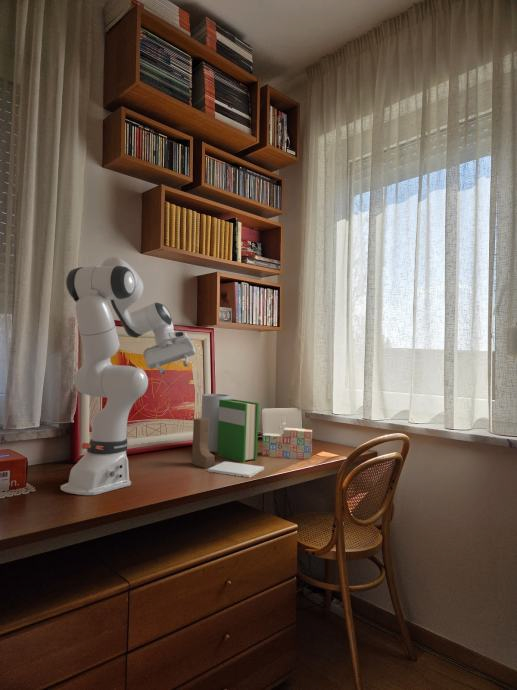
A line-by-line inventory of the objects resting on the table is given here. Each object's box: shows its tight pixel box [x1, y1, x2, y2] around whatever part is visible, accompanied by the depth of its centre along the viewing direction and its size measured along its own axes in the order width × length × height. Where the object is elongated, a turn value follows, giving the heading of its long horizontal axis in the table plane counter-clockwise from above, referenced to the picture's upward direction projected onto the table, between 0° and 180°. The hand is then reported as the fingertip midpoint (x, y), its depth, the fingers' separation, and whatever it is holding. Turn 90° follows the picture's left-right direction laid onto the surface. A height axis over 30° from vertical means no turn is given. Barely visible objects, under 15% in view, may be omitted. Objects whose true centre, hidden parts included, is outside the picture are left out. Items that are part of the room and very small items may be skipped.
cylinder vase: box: [200, 393, 230, 453], centre depth 211 cm, size 12×12×25 cm
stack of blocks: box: [261, 427, 313, 460], centre depth 202 cm, size 21×6×12 cm, turn 80°
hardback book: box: [216, 398, 260, 464], centre depth 197 cm, size 18×7×24 cm, turn 42°
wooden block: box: [191, 417, 216, 469], centre depth 180 cm, size 9×4×18 cm, turn 45°
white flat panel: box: [207, 460, 265, 478], centre depth 174 cm, size 14×17×1 cm
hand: (174, 369), depth 181 cm, fingers open, 8 cm apart
